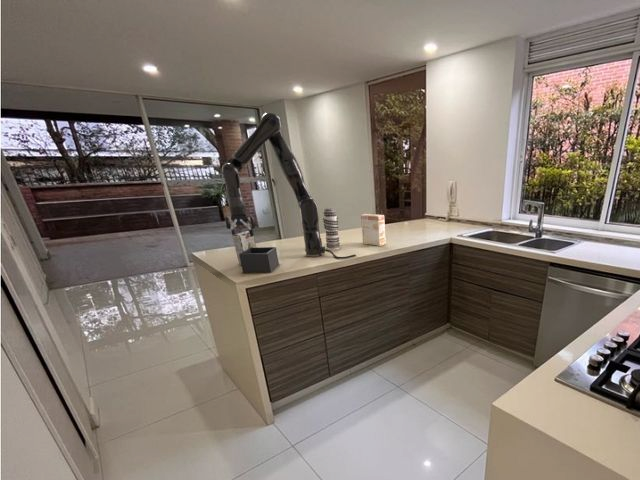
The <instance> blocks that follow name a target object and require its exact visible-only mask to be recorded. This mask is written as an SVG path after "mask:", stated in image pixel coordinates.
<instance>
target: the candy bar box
mask: <svg viewBox="0 0 640 480" xmlns="http://www.w3.org/2000/svg"><path fill="white" fill-rule="evenodd" d="M231 237H232V241H233V244H234V249H235V254H236V257H237V262H238V265H239V266H241V261H240V257H239V254H240V253H242V252H243V251H245V250H247V249H248V248H250V247H257V243H256V240H255V234H254V235H253V237H250V233H249V230H246V231H245V230H244V231H242V232H238V233H236V234H235V235H232V234H231Z"/></svg>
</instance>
